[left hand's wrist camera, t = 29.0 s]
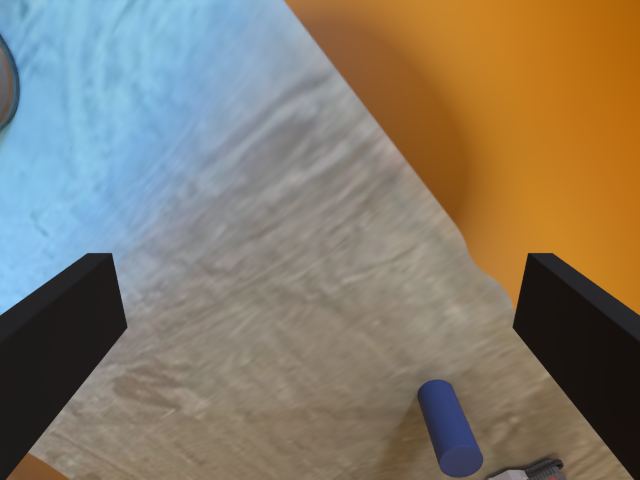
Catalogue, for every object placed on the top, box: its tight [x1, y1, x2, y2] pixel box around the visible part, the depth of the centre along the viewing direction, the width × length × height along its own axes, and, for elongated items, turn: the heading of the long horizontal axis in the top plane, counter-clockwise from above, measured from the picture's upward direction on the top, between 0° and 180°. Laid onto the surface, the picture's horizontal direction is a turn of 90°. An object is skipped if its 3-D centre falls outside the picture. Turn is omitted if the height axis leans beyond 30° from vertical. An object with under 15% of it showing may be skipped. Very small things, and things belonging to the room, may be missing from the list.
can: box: [418, 380, 483, 478], centre depth 55 cm, size 6×6×12 cm
